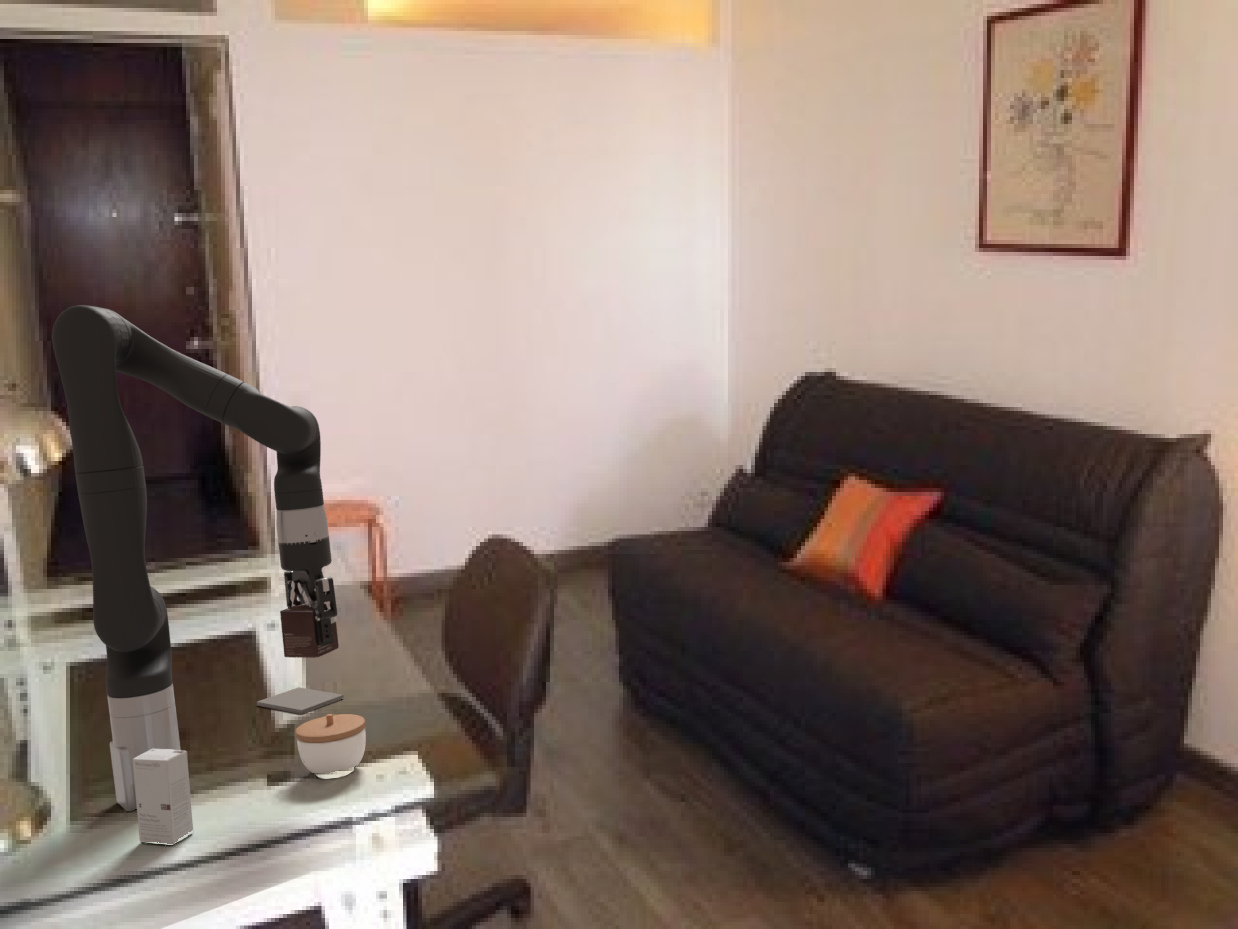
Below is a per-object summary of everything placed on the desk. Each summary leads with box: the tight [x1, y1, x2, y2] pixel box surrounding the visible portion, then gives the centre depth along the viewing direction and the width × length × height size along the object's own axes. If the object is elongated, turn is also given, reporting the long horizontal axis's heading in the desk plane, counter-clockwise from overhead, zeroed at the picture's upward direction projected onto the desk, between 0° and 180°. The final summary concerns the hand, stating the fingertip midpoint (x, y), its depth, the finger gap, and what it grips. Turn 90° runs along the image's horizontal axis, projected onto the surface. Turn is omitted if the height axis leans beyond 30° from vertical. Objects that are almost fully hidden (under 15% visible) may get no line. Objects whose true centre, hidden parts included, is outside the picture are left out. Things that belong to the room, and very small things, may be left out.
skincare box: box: [133, 749, 194, 844], centre depth 147 cm, size 6×4×12 cm
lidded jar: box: [294, 713, 367, 774], centre depth 168 cm, size 11×11×9 cm
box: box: [279, 603, 339, 659], centre depth 163 cm, size 6×6×7 cm
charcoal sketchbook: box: [256, 687, 345, 715], centre depth 209 cm, size 10×14×1 cm
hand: (314, 640), depth 164 cm, fingers closed on box, 8 cm apart
